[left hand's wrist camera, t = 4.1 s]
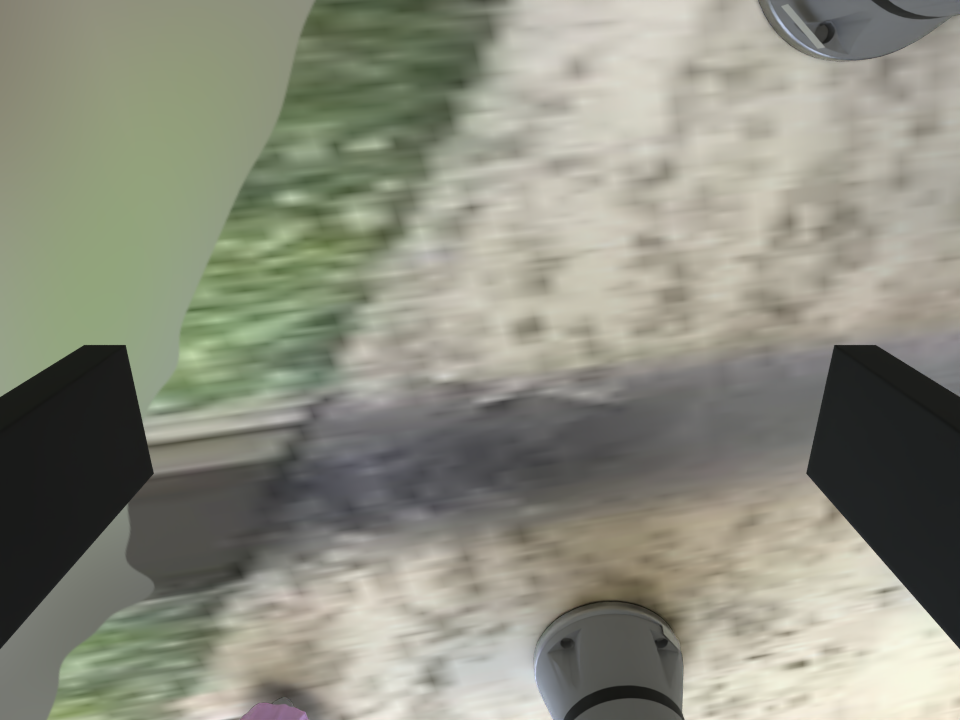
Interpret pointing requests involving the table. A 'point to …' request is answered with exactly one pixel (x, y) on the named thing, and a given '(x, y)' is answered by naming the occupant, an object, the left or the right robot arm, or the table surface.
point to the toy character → (275, 711)
